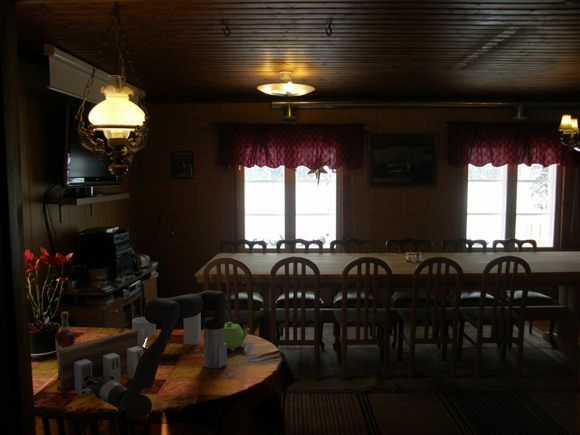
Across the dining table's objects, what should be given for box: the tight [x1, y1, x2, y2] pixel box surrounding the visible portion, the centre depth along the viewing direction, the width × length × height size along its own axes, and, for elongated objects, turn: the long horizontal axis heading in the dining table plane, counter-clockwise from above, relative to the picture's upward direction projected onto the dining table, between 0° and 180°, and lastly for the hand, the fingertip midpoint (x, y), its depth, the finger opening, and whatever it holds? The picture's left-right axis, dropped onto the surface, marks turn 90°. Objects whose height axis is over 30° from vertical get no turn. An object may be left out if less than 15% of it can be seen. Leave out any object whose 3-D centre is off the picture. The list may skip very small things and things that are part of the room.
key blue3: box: [74, 359, 92, 397], centre depth 182 cm, size 5×4×12 cm
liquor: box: [54, 311, 76, 382], centre depth 194 cm, size 7×7×28 cm
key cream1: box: [126, 346, 144, 380], centre depth 197 cm, size 5×4×12 cm
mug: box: [131, 316, 157, 348], centre depth 234 cm, size 15×11×13 cm
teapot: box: [225, 321, 250, 352], centre depth 233 cm, size 20×13×13 cm
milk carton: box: [183, 311, 202, 345], centre depth 240 cm, size 7×7×19 cm
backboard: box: [56, 329, 139, 395], centre depth 195 cm, size 6×33×17 cm, turn 140°
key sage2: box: [103, 353, 122, 385], centre depth 189 cm, size 5×4×12 cm
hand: (86, 378), depth 181 cm, fingers closed
